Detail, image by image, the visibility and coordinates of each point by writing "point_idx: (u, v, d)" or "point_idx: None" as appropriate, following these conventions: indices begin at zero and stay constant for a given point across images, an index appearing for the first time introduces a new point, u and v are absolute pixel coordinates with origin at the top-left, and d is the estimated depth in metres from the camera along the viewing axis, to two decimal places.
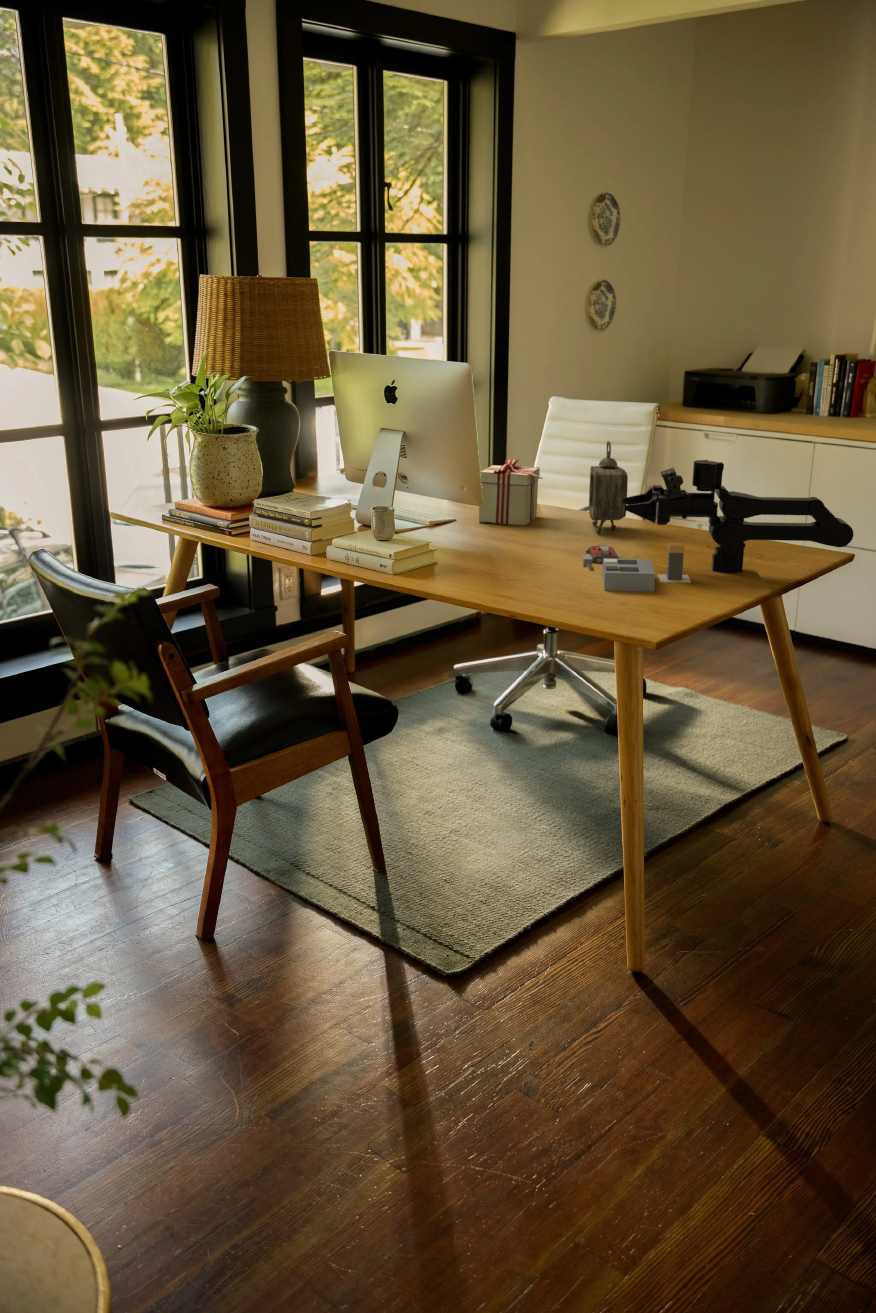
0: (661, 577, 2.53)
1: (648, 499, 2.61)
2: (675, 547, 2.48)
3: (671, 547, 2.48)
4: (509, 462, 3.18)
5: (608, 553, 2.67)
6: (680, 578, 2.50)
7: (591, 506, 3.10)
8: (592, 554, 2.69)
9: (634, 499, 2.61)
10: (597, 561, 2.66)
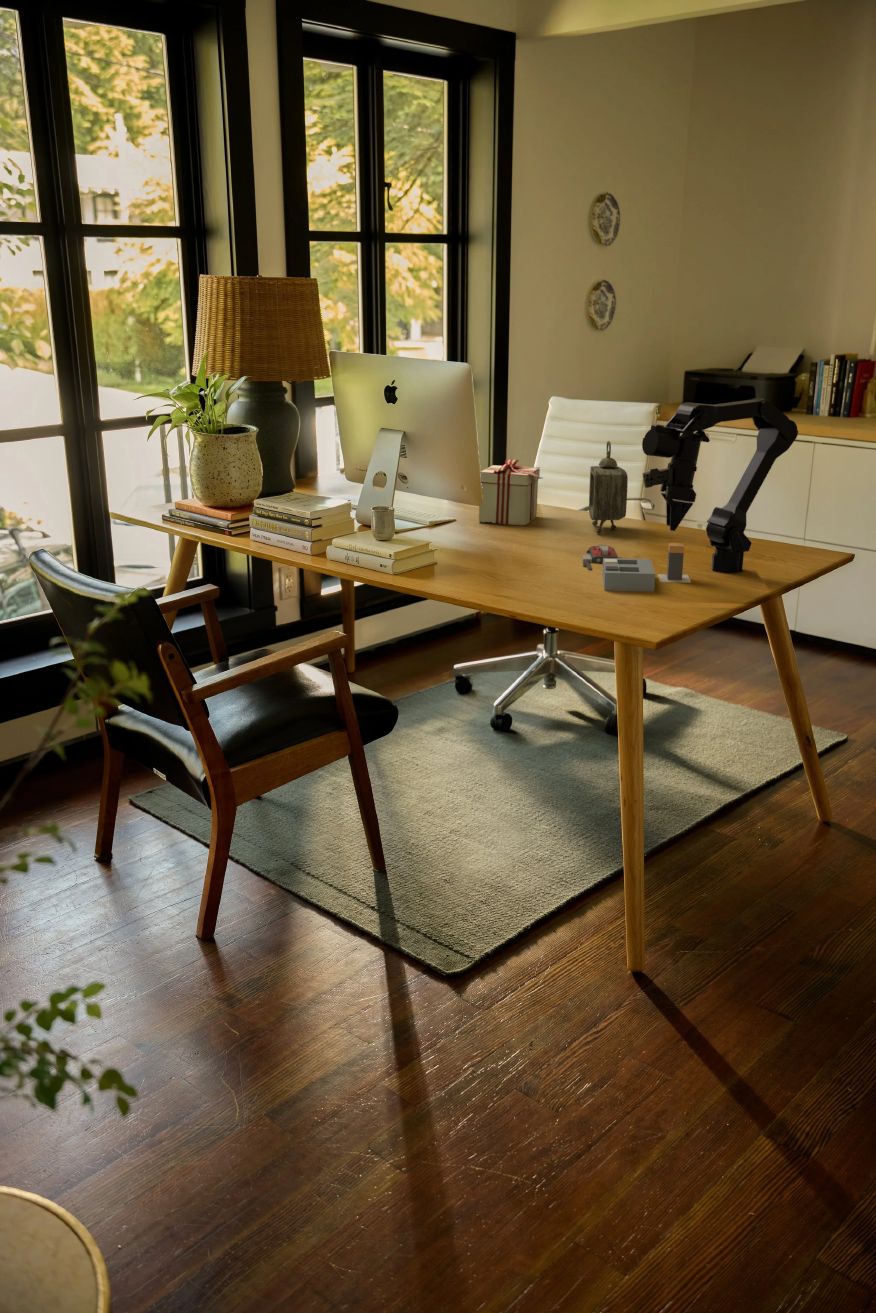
0: (661, 577, 2.53)
1: None
2: (675, 547, 2.48)
3: (671, 547, 2.48)
4: (509, 462, 3.18)
5: (608, 553, 2.67)
6: (680, 578, 2.50)
7: (591, 506, 3.10)
8: (592, 554, 2.69)
9: (670, 514, 2.52)
10: (596, 561, 2.66)
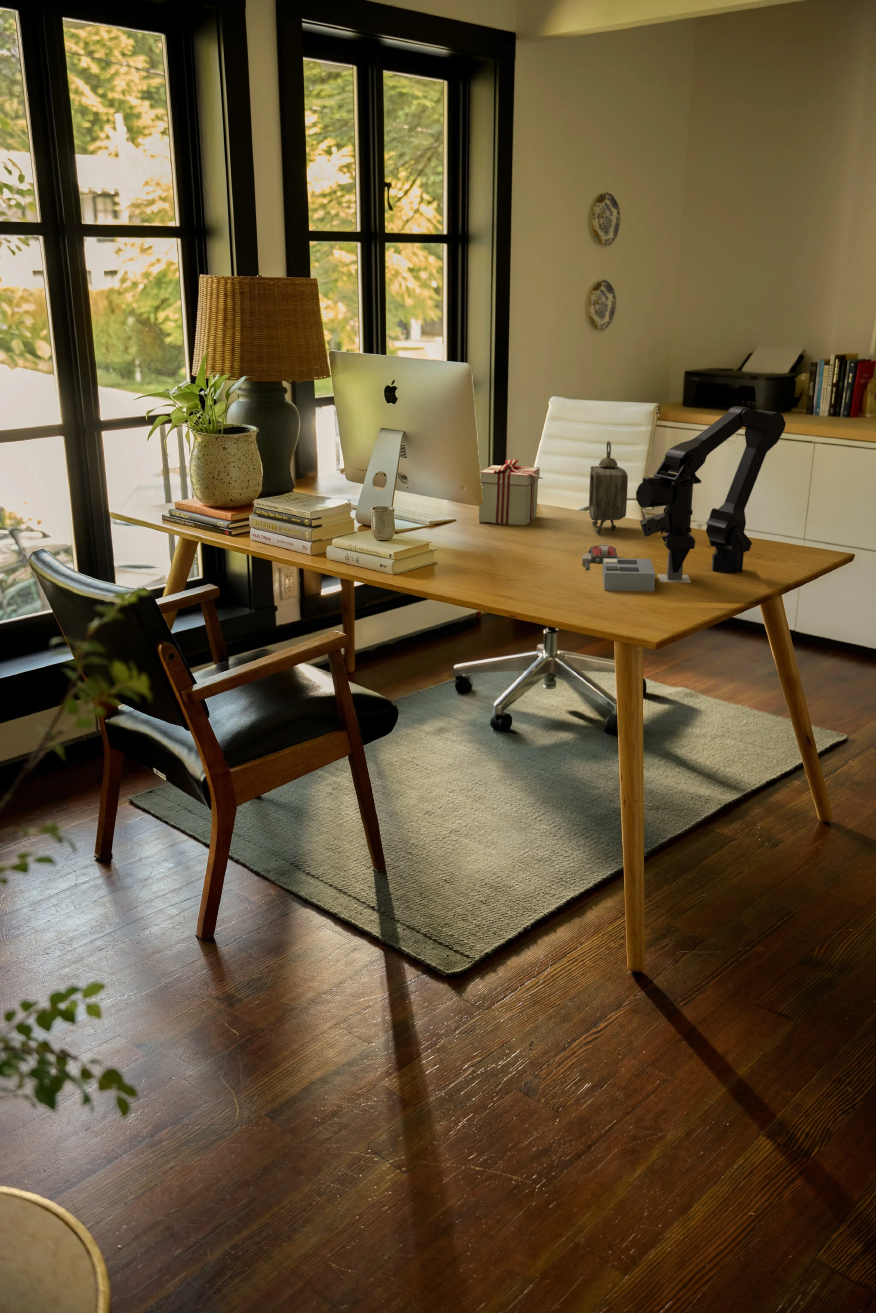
0: (661, 577, 2.53)
1: None
2: None
3: None
4: (509, 462, 3.18)
5: (607, 553, 2.67)
6: (680, 578, 2.50)
7: (591, 506, 3.10)
8: (592, 554, 2.70)
9: None
10: (596, 561, 2.67)
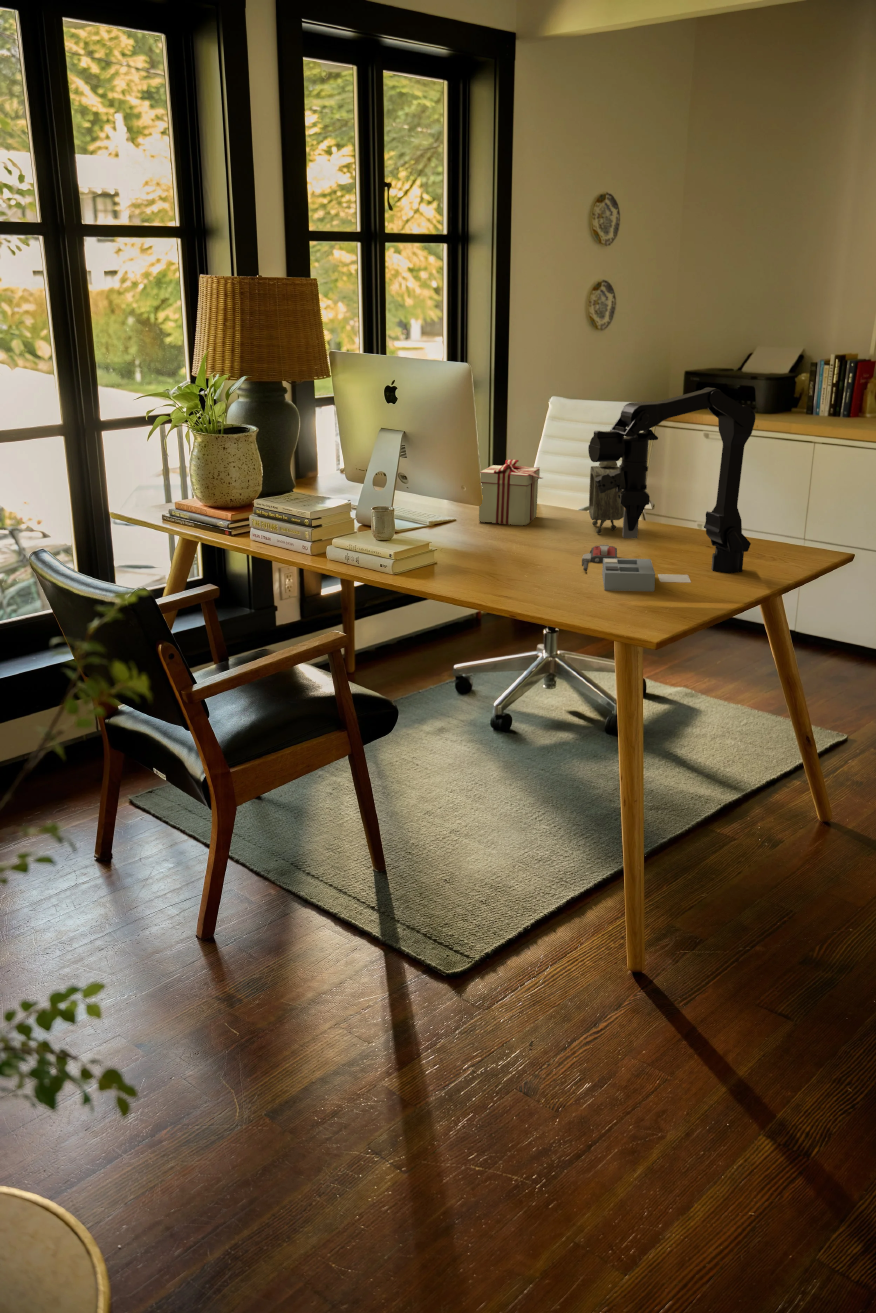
0: (661, 577, 2.53)
1: None
2: None
3: None
4: (509, 462, 3.18)
5: (607, 553, 2.67)
6: (635, 536, 2.47)
7: (591, 506, 3.10)
8: (592, 554, 2.70)
9: None
10: (595, 561, 2.67)
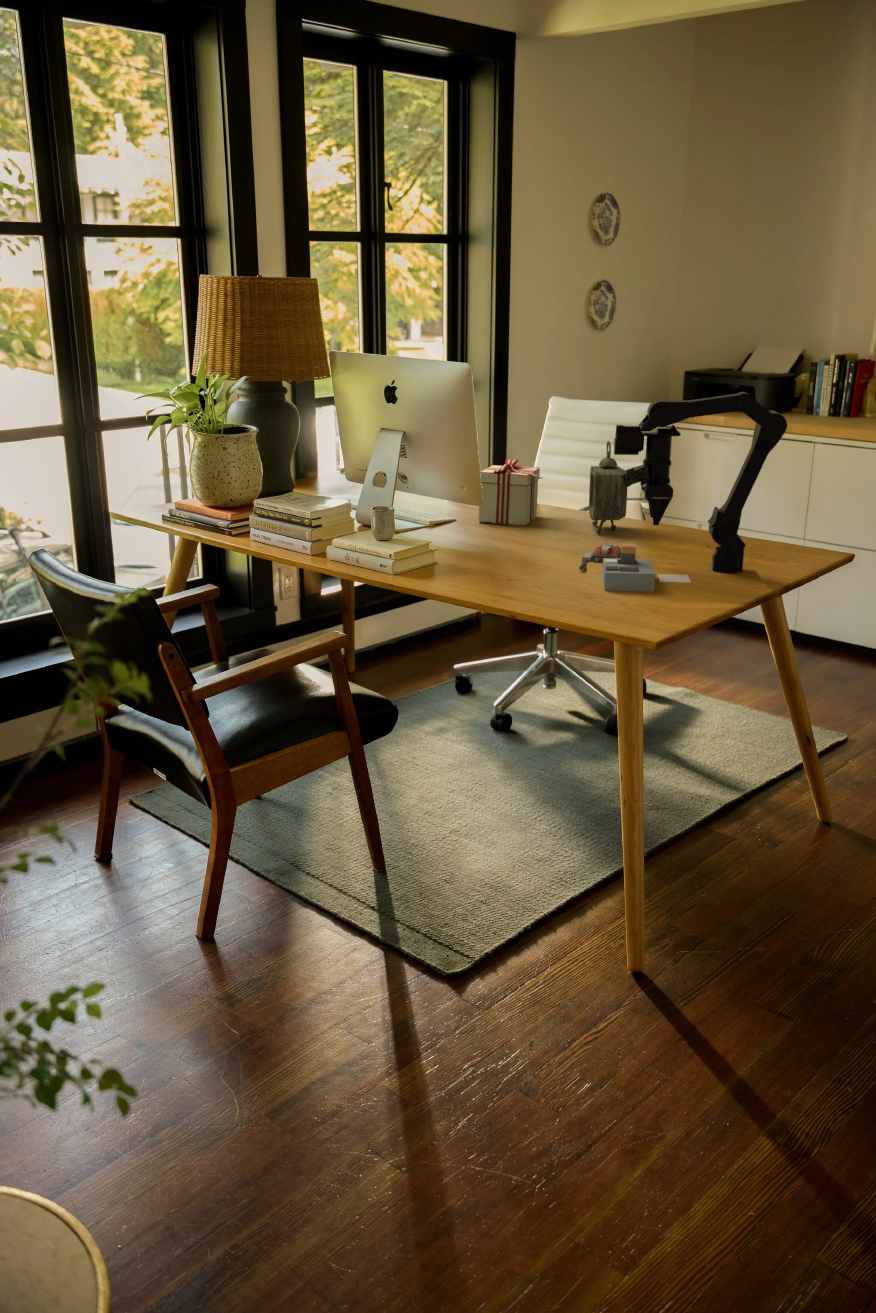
0: (661, 577, 2.53)
1: None
2: (627, 548, 2.48)
3: (623, 548, 2.48)
4: (509, 462, 3.18)
5: (607, 553, 2.67)
6: None
7: (591, 506, 3.10)
8: (593, 553, 2.70)
9: None
10: (594, 560, 2.67)
